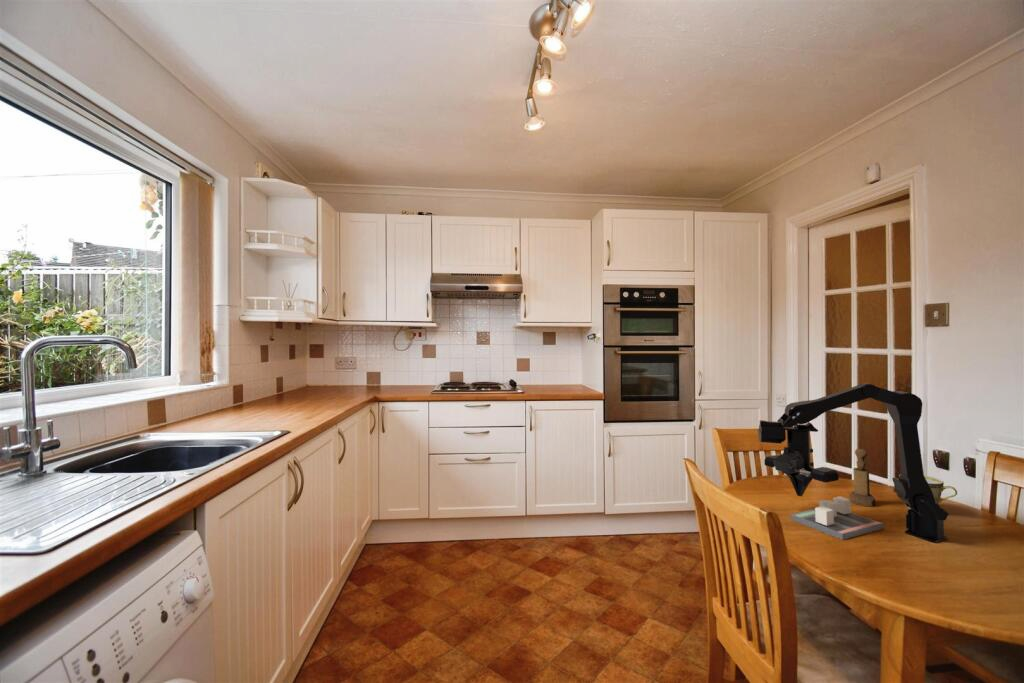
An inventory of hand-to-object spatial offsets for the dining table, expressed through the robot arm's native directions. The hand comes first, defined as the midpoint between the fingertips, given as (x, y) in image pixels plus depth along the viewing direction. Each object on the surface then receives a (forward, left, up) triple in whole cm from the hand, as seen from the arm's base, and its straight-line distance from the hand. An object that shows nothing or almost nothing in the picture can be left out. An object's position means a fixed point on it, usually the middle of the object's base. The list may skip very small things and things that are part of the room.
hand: (799, 495), depth 122 cm
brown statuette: (+1, -32, -7) cm, 33 cm away
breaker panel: (-6, -6, -7) cm, 11 cm away
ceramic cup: (-11, -43, -7) cm, 45 cm away
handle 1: (-4, -6, -5) cm, 9 cm away
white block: (-4, -13, -5) cm, 14 cm away
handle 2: (-7, 0, -5) cm, 9 cm away
